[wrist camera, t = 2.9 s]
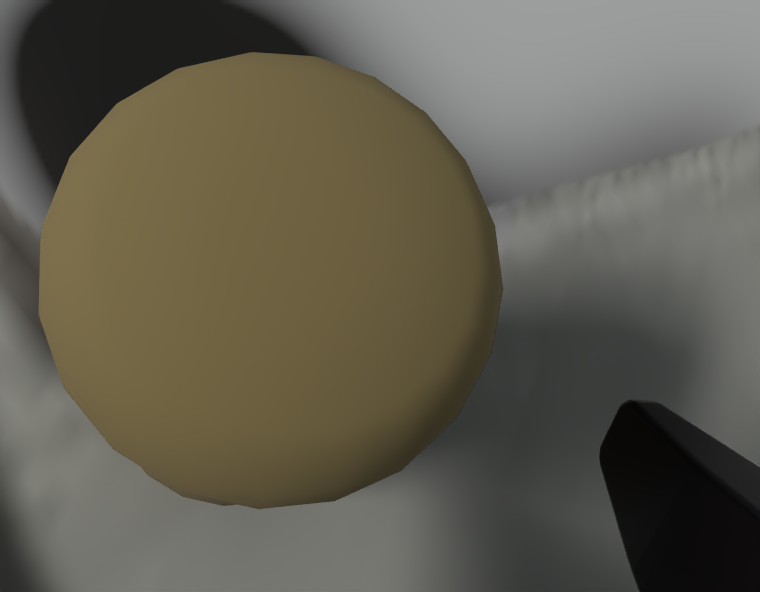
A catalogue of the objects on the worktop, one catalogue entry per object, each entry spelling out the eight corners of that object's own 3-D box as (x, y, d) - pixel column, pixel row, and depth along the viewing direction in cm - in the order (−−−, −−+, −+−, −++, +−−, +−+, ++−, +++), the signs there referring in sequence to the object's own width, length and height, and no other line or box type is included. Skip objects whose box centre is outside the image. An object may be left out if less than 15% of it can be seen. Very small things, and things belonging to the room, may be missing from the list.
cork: (283, 219, 18) (397, -112, 8) (402, 419, 18) (691, 348, 7) (59, 330, 16) (-192, 80, 6) (186, 558, 16) (163, 735, 5)
